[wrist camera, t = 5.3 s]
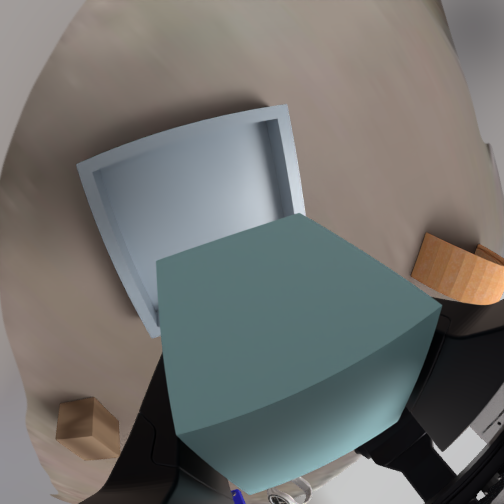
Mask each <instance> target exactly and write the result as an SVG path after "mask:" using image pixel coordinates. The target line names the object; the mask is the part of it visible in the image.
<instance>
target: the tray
mask: <svg viewBox="0 0 504 504" xmlns="http://www.w3.org/2000/svg"><path fill="white" fill-rule="evenodd" d="M76 166H77V169H78V173H79V176H80V179H81V182H82V185H83V188H84V191H85V194H86V197H87V200H88V203H89V205H90V208H91V211H92V214H93V216H94V219H95V222H96V224H97V227H98V229H99V232H100V234H101V237H102V239H103V241H104V244H105V246H106V248H107V251H108V253H109V255H110V258H111V260H112V262H113V264H114V266H115V269H116V271H117V273H118V275H119V277H120V279H121V281H122V283H123V285H124V288H125V290H126V292H127V294H128V296H129V297H130V299H131V301H132V303H133V305H134V307H135V309H136V311H137V313H138V315H139V316H140V318H141V320H142V322H143V324H144V326H145V327H146V329H147V331H148V333H149V334H150V336H151V338H155V337H158V336H161V331H160V320H159V308H158V293H157V275H156V261H157V260H160V259H162V258H165V257H168V256H171V255H174V254H177V253H180V252H182V251H185V250H188V249H191V248H194V247H197V246H200V245H203V244H206V243H209V242H212V241H215V240H217V239H220V238H223V237H226V236H229V235H232V234H235V233H238V232H241V231H244V230H247V229H250V228H254V227H257V226H260V225H263V224H266V223H269V222H272V221H275V220H278V219H281V218H284V217H287V216H291V215H294V214H297V213H301V214H303V215H304V216H306V215H305V207H304V200H303V193H302V187H301V180H300V174H299V167H298V161H297V155H296V150H295V144H294V138H293V133H292V127H291V122H290V117H289V112H288V107H287V104H285V105H278V106H271V107H265V108H259V109H253V110H248V111H243V112H238V113H233V114H228V115H223V116H219V117H215V118H210V119H206V120H202V121H198V122H194V123H191V124H187V125H183V126H180V127H176V128H173V129H169V130H166V131H163V132H160V133H156V134H153V135H150V136H147V137H144V138H141V139H138V140H135V141H133V142H130V143H127V144H124V145H122V146H119V147H116V148H114V149H111V150H109V151H106V152H103V153H101V154H99V155H96V156H94V157H91V158H89V159H87V160H84V161H82V162H80V163H78V164H76Z"/></svg>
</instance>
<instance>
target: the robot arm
mask: <svg viewBox="0 0 504 504" xmlns="http://www.w3.org/2000/svg"><path fill="white" fill-rule="evenodd" d="M432 298H433V299H434V300H436V301H437V302H439V303H440V304H441V305H442V308H441V312H440V315H439V319H438V322H437V326H436V329H435V332H434V335H433V338H432V341H431V344H430V347H429V350H428V353H427V356H426V358H425V361H424V364H423V366H422V369H421V371H420V374H419V376H418V379H417V381H416V383H415V386H414V388H413V390H412V393H411V395H410V397H409V399H408V401H407V403H406V406H405V408H404V410H403V412H402V414H401V416H400V418H399V420H398V422H396V423H395V424H393V425H392V426H390V427H389V428H387V429H386V430H385V431H383V432H382V433H380V434H378V435H377V436H375V437H374V438H372V439H371V440H369V441H367V442H366V443H364V444H362V445H361V446H359V447H357V448H356V449H354V450H355V452H356V453H357V454H362V455H363V456H365V457H366V458H367V459H370V458H372V459H373V461H374V462H375V463H376V464H378V465H380V466H383V467H387V468H390V469H393V470H396V471H400V472H402V473H403V475H404V476H405V477H406V478H407V480H408V481H409V482H410V484H411V485H412V486H413V488H414V489H415V490H416V491H417V493H418V494H419V495H420V497H421V498H422V499H423V500H424V502H425V504H504V299H503V300H501V301H498V302H496V303H493V304H489V305H477V304H470V303H464V302H457V301H451V300H445V299H439V298H434V297H432ZM139 412H140V413H138V415H137V417H136V420H135V423H134V425H133V428H132V430H131V433H130V435H129V437H128V439H127V441H126V443H125V446H124V448H123V450H122V452H121V454H120V456H119V458H118V460H117V462H116V464H115V466H114V468H113V470H112V472H111V474H110V476H109V478H108V480H107V481H106V483H105V484H104V486H103V487H102V488H101V489H100V490H99V491H98V492H97V493H95V494H94V495H92V496H90V497H89V498H87V499H85V500H84V501H82V502H80V503H78V504H235V503H234V501H233V497H232V493H231V490H230V487H229V483H228V480H227V478H225V477H224V476H223V475H221V474H220V473H219V472H218V471H216V470H215V469H214V468H213V467H211V466H210V465H209V464H208V463H207V462H205V461H204V460H203V459H202V458H201V457H200V456H198V455H197V454H196V453H195V452H194V451H193V450H192V449H190V448H189V447H188V446H187V445H186V444H185V443H184V442H183V441H182V440H181V439H180V438H179V437H178V436H176V432H175V427H174V422H173V416H172V411H171V405H170V399H169V393H168V387H167V380H166V373H165V366H164V358H163V352H162V354H161V357H160V359H159V362H158V364H157V366H156V369H155V371H154V374H153V376H152V379H151V381H150V384H149V386H148V389H147V392H146V394H145V397H144V399H143V402H142V404H141V407H140V410H139ZM469 426H470V427H471V428H472V429H473V430H474V431H475V432H476V433H477V434H478V435H479V436H480V438H481V439H483V440H484V441H485V442H486V443H487V445H486V446H485V447H484V448H483V449H482V451H481V452H480V453H479V454H478V455H477V456H476V457H475V458H474V459H473V460H472V461H471V462H470V464H469V465H468V466H467V467H466V468H465V469H464V470H463V471H462V472H461V473H459V475H456V474H455V473H454V471H453V470H452V469H451V468H450V467H449V466H448V465H447V463H446V462H445V461H444V460H443V459H442V457H441V456H439V454H438V453H437V452H436V451H435V449H434V447H433V441H434V443H435V444H436V445H437V446H438V448H439V449H440V450H441V451H442V452H443V451H444V450H446V449H447V448H448V447H449V446H450V445H451V444H452V443H453V442H454V441H455V440H456V439H457V438H458V437H459V436H460V435H461V434H462V433H463V432H464V431H465V430H466V429H467V428H468V427H469ZM479 491H482V492H483V493H484V494H485V495H486V496H485V497H483V498H482V499H480V500H479V501H478V500H477V499H476V496H477V494H478V493H479Z"/></svg>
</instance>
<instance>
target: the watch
mask: <svg viewBox="0 0 504 504" xmlns="http://www.w3.org/2000/svg"><path fill="white" fill-rule="evenodd" d="M290 481H292V482H293V483H295V484H296V485H298V486H299V487H300V488H301V489H303V490H304V492H306V499H305V502H304V503H303V504H306V503H308V502H309V501H310V499H311V498H312V494H313V492H312V488H311V486H310V484H309V483H308V482H307V481H306V480H305V479H303V478H302V477H298V478H295V479H293V480H290ZM267 495H268V500H269V501H270V503H271V504H299V503H296V502H295V501H294V499H293V498H292V497H291V496H290V495H288V494H287V493H285V492H282V491H279V490H278V489H276V488H275V487H272V488H269V489H267Z"/></svg>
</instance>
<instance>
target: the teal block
mask: <svg viewBox="0 0 504 504" xmlns="http://www.w3.org/2000/svg"><path fill="white" fill-rule="evenodd" d="M156 275H157V293H158V308H159V320H160V331H161V341H162V350H163V358H164V366H165V373H166V380H167V387H168V393H169V399H170V405H171V411H172V416H173V422H174V427H175V432H176V436H178V437H179V438H180V439H181V440H182V441H183V442H184V443H185V444H186V445H187V446H188V447H189V448H190V449H192V450H193V451H194V452H195V453H196V454H197V455H198V456H200V457H201V458H202V459H203V460H204V461H205V462H207V463H208V464H209V465H210V466H211V467H213V468H214V469H215V470H216V471H218V472H219V473H220V474H221V475H223V476H224V477H225V478H227V479H228V480H229V481H231V482H232V483H233V484H235V485H236V486H237V487H239V488H240V489H242V490H243V491H244V492H246V493H247V494H249V495H251V494H254V493H257V492H260V491H263V490H266V489H269V488H272V487H275V486H277V485H280V484H283V483H285V482H288V481H290V480H293V479H295V478H298V477H300V476H302V475H304V474H307V473H309V472H311V471H313V470H315V469H318V468H320V467H322V466H324V465H326V464H328V463H330V462H332V461H334V460H336V459H338V458H339V457H341V456H343V455H345V454H347V453H349V452H350V451H352V450H354V449H356V448H357V447H359V446H361V445H362V444H364V443H366V442H367V441H369V440H371V439H372V438H374V437H375V436H377V435H378V434H380V433H382V432H383V431H385V430H386V429H387V428H389V427H390V426H392V425H393V424H395V423H396V422H398V420H399V418H400V416H401V414H402V412H403V410H404V408H405V406H406V403H407V401H408V399H409V397H410V395H411V393H412V390H413V388H414V386H415V383H416V381H417V379H418V376H419V374H420V371H421V369H422V366H423V364H424V361H425V358H426V356H427V353H428V350H429V347H430V344H431V341H432V338H433V335H434V332H435V329H436V326H437V322H438V319H439V315H440V312H441V308H442V305H441V304H440V303H439V302H437V301H436V300H434V299H433V298H432V297H430V296H429V295H427V294H426V293H425V292H423V291H422V290H420V289H419V288H417V287H416V286H415V285H413V284H412V283H410V282H409V281H407V280H406V279H404V278H403V277H401V276H400V275H398V274H397V273H395V272H394V271H393V270H391V269H389V268H388V267H386V266H385V265H383V264H382V263H380V262H379V261H377V260H376V259H374V258H373V257H371V256H370V255H368V254H366V253H365V252H363V251H362V250H360V249H359V248H357V247H355V246H354V245H352V244H351V243H349V242H347V241H346V240H344V239H343V238H341V237H339V236H338V235H336V234H334V233H333V232H331V231H329V230H328V229H326V228H325V227H323V226H321V225H320V224H318V223H316V222H314V221H313V220H311V219H309V218H308V217H306V216H304V215H303V214H301V213H297V214H294V215H291V216H287V217H284V218H281V219H278V220H275V221H272V222H269V223H266V224H263V225H260V226H257V227H254V228H250V229H247V230H244V231H241V232H238V233H235V234H232V235H229V236H226V237H223V238H220V239H217V240H215V241H212V242H209V243H206V244H203V245H200V246H197V247H194V248H191V249H188V250H185V251H182V252H180V253H177V254H174V255H171V256H168V257H165V258H162V259H160V260H157V261H156Z"/></svg>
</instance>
